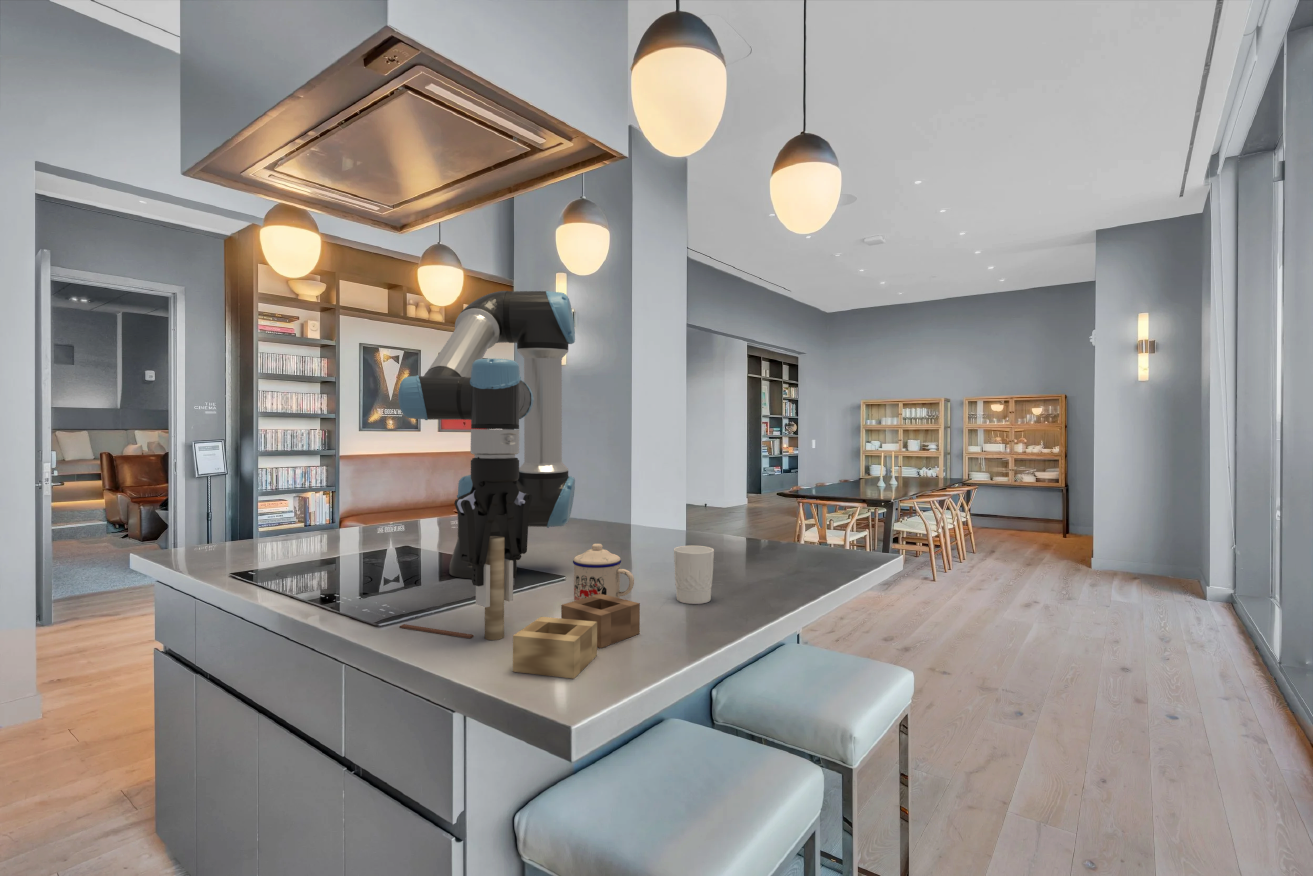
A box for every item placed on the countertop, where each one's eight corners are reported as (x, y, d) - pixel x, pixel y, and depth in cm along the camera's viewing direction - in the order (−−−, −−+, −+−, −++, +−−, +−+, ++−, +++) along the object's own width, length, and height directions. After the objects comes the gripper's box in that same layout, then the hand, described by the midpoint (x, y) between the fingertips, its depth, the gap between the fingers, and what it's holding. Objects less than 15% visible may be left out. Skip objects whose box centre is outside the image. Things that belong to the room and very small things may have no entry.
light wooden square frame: (512, 671, 86) (513, 635, 86) (540, 649, 95) (541, 616, 95) (573, 678, 84) (574, 641, 84) (596, 655, 93) (597, 621, 92)
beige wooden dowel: (480, 637, 100) (481, 537, 100) (496, 632, 102) (496, 535, 102) (492, 641, 98) (492, 539, 98) (507, 636, 100) (508, 537, 100)
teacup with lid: (564, 609, 116) (564, 546, 116) (585, 597, 124) (586, 538, 124) (623, 616, 112) (624, 551, 112) (642, 603, 120) (642, 543, 120)
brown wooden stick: (399, 627, 105) (399, 625, 105) (404, 625, 106) (404, 624, 106) (469, 638, 99) (469, 636, 99) (473, 636, 100) (473, 634, 100)
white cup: (714, 605, 119) (715, 553, 119) (673, 605, 120) (674, 552, 119) (712, 594, 127) (712, 545, 127) (673, 594, 127) (673, 545, 127)
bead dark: (561, 635, 101) (561, 604, 101) (600, 622, 108) (600, 593, 108) (600, 648, 96) (601, 615, 96) (639, 633, 103) (639, 603, 102)
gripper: (462, 458, 91) (462, 619, 91) (551, 455, 104) (550, 596, 104) (434, 457, 96) (434, 609, 96) (522, 454, 109) (521, 588, 109)
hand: (494, 602), depth 100 cm, fingers open, 4 cm apart
